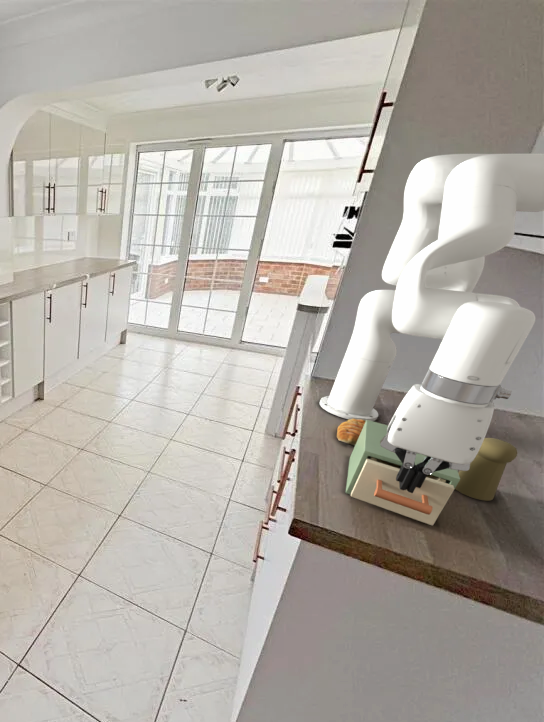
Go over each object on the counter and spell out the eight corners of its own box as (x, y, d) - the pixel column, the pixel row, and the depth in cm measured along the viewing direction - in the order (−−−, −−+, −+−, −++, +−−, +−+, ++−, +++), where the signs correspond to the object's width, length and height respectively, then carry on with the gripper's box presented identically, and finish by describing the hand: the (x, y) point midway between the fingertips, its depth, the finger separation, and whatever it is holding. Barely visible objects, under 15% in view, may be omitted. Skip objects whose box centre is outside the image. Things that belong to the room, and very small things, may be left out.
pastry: (362, 452, 90) (368, 437, 88) (327, 439, 95) (333, 424, 93) (375, 438, 95) (381, 424, 94) (341, 426, 100) (346, 413, 98)
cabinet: (433, 524, 70) (460, 479, 66) (345, 492, 77) (364, 450, 73) (426, 482, 81) (449, 441, 77) (349, 458, 88) (366, 419, 84)
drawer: (435, 542, 65) (458, 504, 62) (349, 510, 71) (365, 474, 68) (426, 486, 78) (444, 452, 75) (353, 463, 85) (368, 430, 81)
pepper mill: (447, 476, 83) (474, 429, 78) (488, 488, 80) (519, 440, 75) (453, 491, 78) (481, 443, 74) (497, 505, 75) (530, 455, 71)
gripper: (523, 394, 59) (463, 495, 66) (392, 367, 67) (351, 460, 75) (538, 412, 53) (471, 520, 61) (393, 381, 62) (349, 479, 69)
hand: (405, 487), depth 68 cm, fingers closed
